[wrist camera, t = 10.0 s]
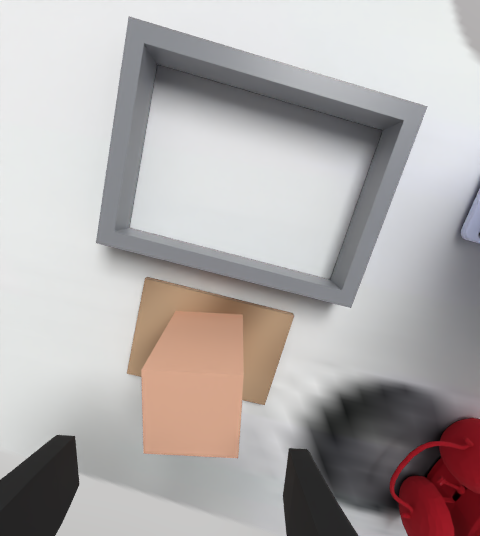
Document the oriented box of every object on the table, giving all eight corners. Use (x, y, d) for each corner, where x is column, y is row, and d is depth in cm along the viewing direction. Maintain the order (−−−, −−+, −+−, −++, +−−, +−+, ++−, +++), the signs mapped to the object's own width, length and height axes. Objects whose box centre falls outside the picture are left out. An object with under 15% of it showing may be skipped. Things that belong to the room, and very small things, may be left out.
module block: (242, 314, 17) (243, 375, 11) (239, 373, 18) (237, 458, 12) (175, 310, 17) (141, 369, 11) (175, 370, 18) (143, 453, 12)
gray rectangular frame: (403, 118, 15) (427, 106, 13) (338, 295, 17) (350, 307, 15) (144, 41, 14) (128, 16, 12) (113, 237, 16) (96, 242, 14)
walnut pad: (292, 313, 17) (294, 316, 17) (264, 400, 19) (264, 404, 19) (147, 276, 17) (144, 278, 17) (129, 369, 18) (126, 373, 18)
